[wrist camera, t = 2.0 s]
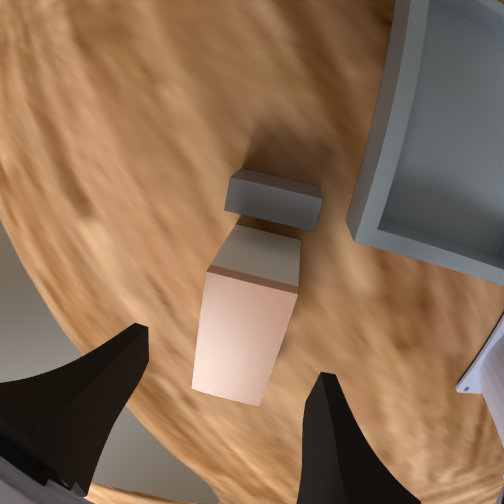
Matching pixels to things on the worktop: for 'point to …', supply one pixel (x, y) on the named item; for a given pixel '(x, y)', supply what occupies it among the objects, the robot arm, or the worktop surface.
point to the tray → (438, 140)
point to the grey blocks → (274, 199)
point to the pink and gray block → (245, 313)
